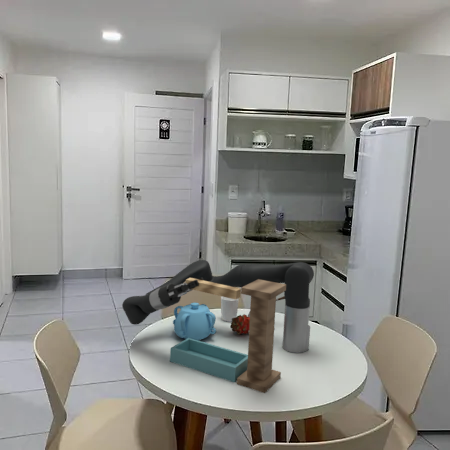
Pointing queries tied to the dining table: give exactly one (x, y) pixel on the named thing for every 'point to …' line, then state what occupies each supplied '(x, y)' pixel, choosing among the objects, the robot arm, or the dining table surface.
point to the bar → (216, 289)
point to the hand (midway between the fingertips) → (200, 281)
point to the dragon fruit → (240, 324)
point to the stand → (261, 335)
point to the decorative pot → (194, 321)
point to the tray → (209, 359)
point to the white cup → (228, 308)
